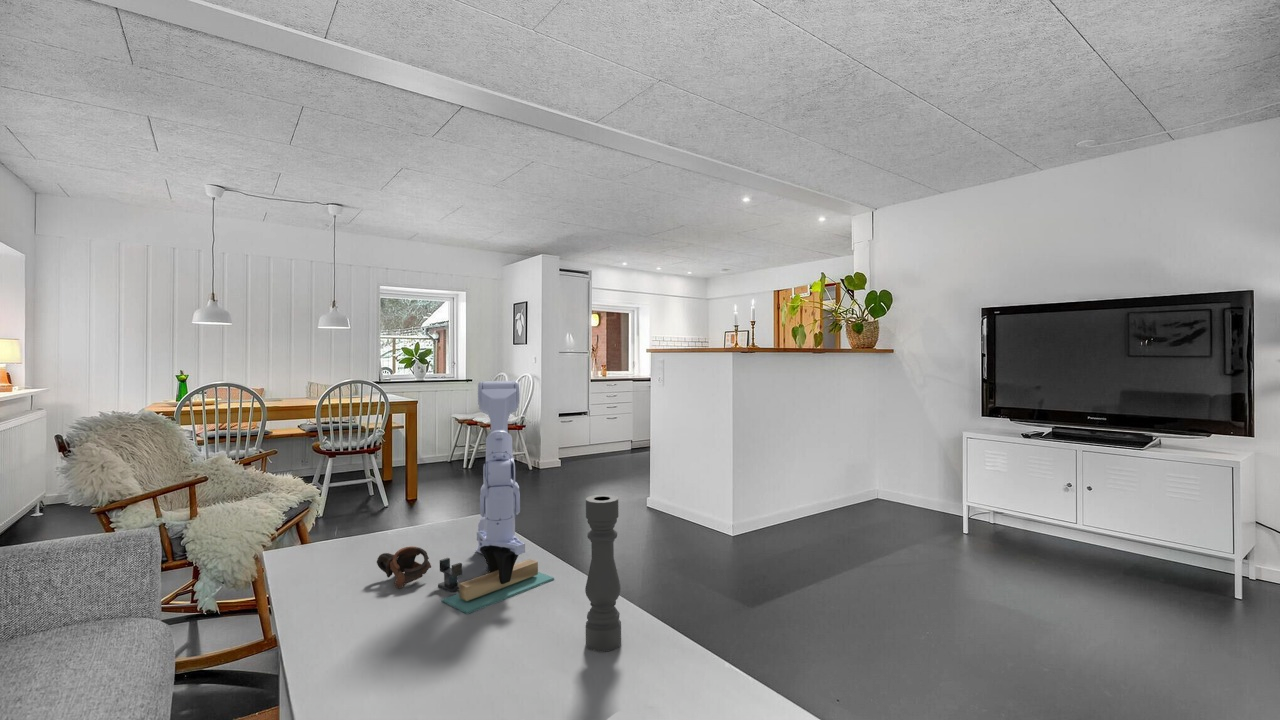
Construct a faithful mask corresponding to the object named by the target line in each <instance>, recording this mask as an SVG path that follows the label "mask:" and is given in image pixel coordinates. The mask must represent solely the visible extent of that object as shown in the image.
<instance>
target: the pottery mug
mask: <svg viewBox="0 0 1280 720" xmlns="http://www.w3.org/2000/svg"><path fill="white" fill-rule="evenodd" d="M419 555H422V557H423V562H422V563H420V562H418V561H416V557H417V556H419ZM429 559H430V557H429V556H428V552H427V551H426V550H425V549H423V548H421V547H417V546H406V547H401V548H400V549H398V550H397V551H396V552H395V554H392V553H389V552H388V553H387V552H384V553H381V554H379V556H378V557H377V560H376V564H377V567H378V568H379V570H381V571H382V572H384V573H385V574H386V577H387V578H391V576H392V575H394V577H396V578H395V582H394V586H395V587H396V588H399V589H402V588H403V587H404V585H407V584H409V583H412V582H414V581H416V580H419V579H421V578H423V576H424V575H426V574H427V572H428V570H429V569H431V568H432V565H431V563H430V561H429Z"/></svg>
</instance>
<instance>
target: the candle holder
mask: <svg viewBox="0 0 1280 720" xmlns="http://www.w3.org/2000/svg"><path fill="white" fill-rule="evenodd" d="M585 518H586V519H587V521H586V522H587V524H588V525H589V528H590V529H591V530H589V531H588V533H587V536H586V537H587V539H589V541H590V543H591V546H590V547H591V560H590V566H589V570H588V574H587V579H586V585H585V589H584V591H585V595H586V598H587V599H588V600H589V602H590V603H589V604H590V606H591V607H590V609H589V611H588V612H587V614H586V620H587V621H586V622H585V645H587V646H586V647H587V648H588V649H590V650H591V651H596V652H609V651H614V650H615V649H618V648H620V646H621V644H622V621H621V620H620V614H621V613H620V611H619V610H618V609H617V608H616V603H617V600H618V599H619V597H620V593H621V589H622V588H621V582H620V577H619V574H618V569H617V565H616V562H615V561H616V560H615V558H614V557H615V556H614V555H615V552H614V551H615V550H614V547H615V546H614V542H615V540H616V539H617V538H618V532H617V530H615V529H614V528H615V526H616V524H617V522H618V518H619V497H618V496H616V495H613V494H595V495H589V496H587V497H586V498H585Z"/></svg>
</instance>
